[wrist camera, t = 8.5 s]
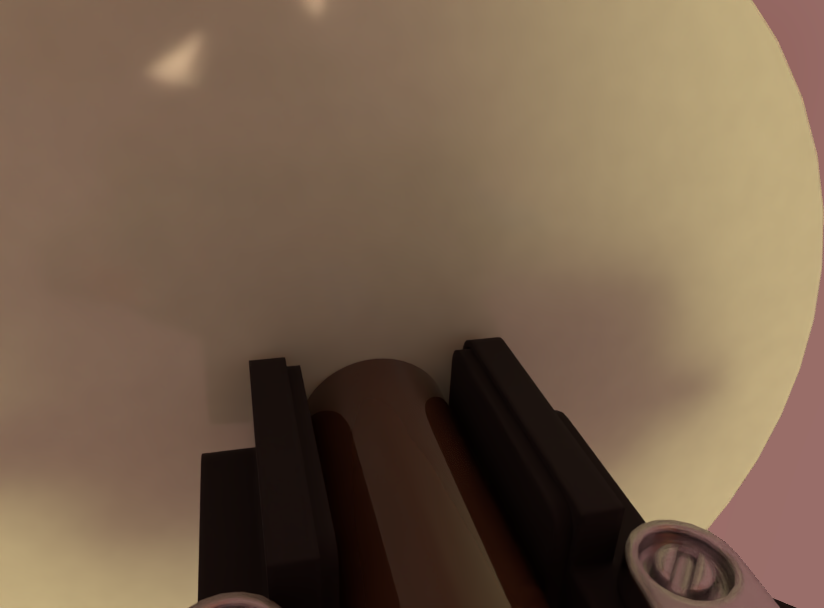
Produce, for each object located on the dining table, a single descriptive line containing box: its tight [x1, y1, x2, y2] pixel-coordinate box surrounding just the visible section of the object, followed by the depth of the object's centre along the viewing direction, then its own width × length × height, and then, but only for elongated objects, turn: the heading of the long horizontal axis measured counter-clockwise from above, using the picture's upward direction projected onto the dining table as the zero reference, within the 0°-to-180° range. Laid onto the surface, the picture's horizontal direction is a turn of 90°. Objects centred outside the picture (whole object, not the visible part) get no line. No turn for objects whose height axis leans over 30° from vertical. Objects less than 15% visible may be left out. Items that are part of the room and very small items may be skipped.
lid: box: [0, 0, 824, 608], centre depth 10 cm, size 17×17×6 cm
